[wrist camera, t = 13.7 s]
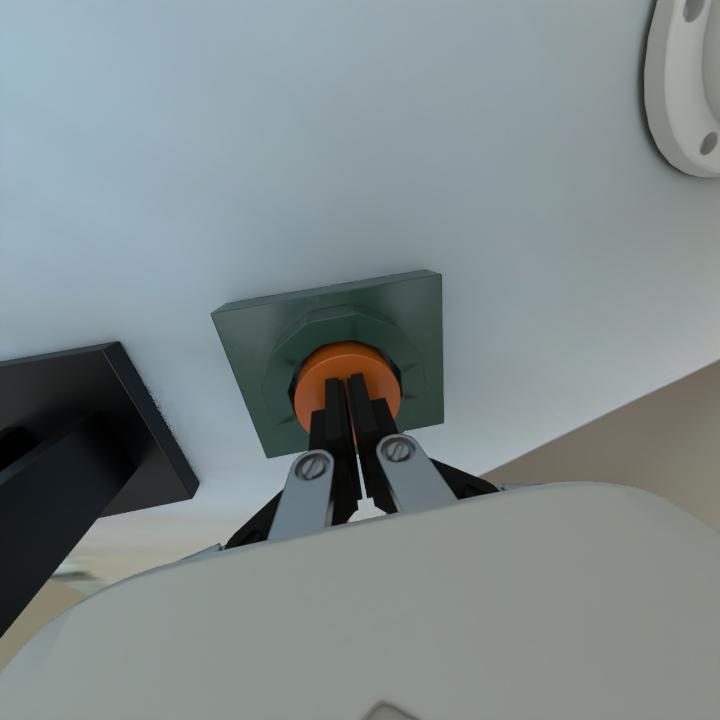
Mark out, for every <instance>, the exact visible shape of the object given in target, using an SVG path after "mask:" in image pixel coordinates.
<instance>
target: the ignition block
mask: <svg viewBox="0 0 720 720" xmlns="http://www.w3.org/2000/svg"><path fill="white" fill-rule="evenodd" d="M211 317H212V319H213V322H214V324H215V327H216V329H217V332H218V334H219V337H220V340H221V342H222V345H223V347H224V350H225V352H226V355H227V358H228V360H229V363H230V365H231V368H232V370H233V373H234V375H235V378H236V381H237V383H238V386H239V388H240V391H241V393H242V396H243V398H244V401H245V404H246V406H247V409H248V411H249V414H250V416H251V419H252V421H253V424H254V427H255V429H256V432H257V434H258V437H259V439H260V442H261V444H262V447H263V450H264V452H265V455H266V457H267V459H268V458H273V457H278V456H283V455H288V454H293V453H298V452H303V451H308V449H309V436H310V434H309V433H308V432H307V431H306V430H305V429H304V427H303V426H302V425H301V423H300V421H299V420H298V418H297V415H296V412H295V405H294V399H295V392H296V387H297V381H298V376H299V373H300V370H301V368H302V366H303V364H304V363H305V361H306V360H307V359H308V358H309V356H311V355H312V354H313V353H314V352H315V351H317V350H318V349H320V348H321V347H323V346H325V345H328V344H331V343H336V342H341V341H355V342H360V343H364V344H366V345H369V346H371V347H372V348H374V349H376V350H377V351H378V352H379V353H380V354H381V355H382V356H383V357H384V358H385V359H386V361H387V362H388V364H389V366H390V368H391V370H392V372H393V374H394V376H395V378H396V380H397V382H398V385H399V388H400V394H401V400H400V406H399V410H398V412H397V415H396V417H395V418H394V421H395V424H396V427H397V429H398V432H399V434H401V433H403V432H404V431H407V430H412V429H417V428H422V427H427V426H432V425H437V424H442V423H444V396H443V333H442V275H441V274H439V273H436V272H433V271H429V270H426V269H425V270H419V271H413V272H408V273H402V274H396V275H390V276H384V277H378V278H372V279H366V280H361V281H355V282H349V283H343V284H337V285H331V286H325V287H319V288H313V289H308V290H302V291H296V292H290V293H284V294H278V295H272V296H266V297H261V298H255V299H249V300H243V301H237V302H231V303H226V304H225V305H223V306H221V307H220V308H218V309H217V310H215V311H214V312H212V313H211ZM355 450H356V454H358V448H357V444H355Z"/></svg>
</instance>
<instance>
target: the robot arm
mask: <svg viewBox="0 0 720 720" xmlns="http://www.w3.org/2000/svg"><path fill="white" fill-rule="evenodd" d="M644 103H645V108H646V113H647V118H648V124H649V128H650V131H651V133H652V135H653V138H654V140H655V142H656V144H657V147H658V149H659V150H660V152H661V153H662V154H663V155H664V156H665V158H666V159H667V160H668V161H669V163H670V164H671V165H673V166H675V167H676V168H678V169H679V170H681V171H682V172H684V173H686V174H689V175H693V176H697V177H701V178H713V177H720V0H657V4H656V8H655V12H654V16H653V20H652V24H651V28H650V32H649V36H648V43H647V51H646V59H645V67H644ZM346 380H347V387H348V393H349V400H350V406H351V413H352V419H353V426H354V432H355V438H356V443H357V448H358V454H359V459H360V464H361V469H362V474H363V479H364V484H365V489H366V494H367V498H371V497H373V500H374V505H375V507H378V508H379V509H381V510H383V511H384V512H386V515H383V516H378V517H374V518H369V519H364V520H360V521H355V522H349V518H350V517H351V516H352V515H353V513H354V512H355V511H357V510H358V503H357V500H361V499H362V491H361V484H360V478H359V471H358V464H357V457H356V450H355V443H354V436H353V430H352V425H351V420H350V415H349V410H348V405H347V400H346V395H345V389H344V384H343V380H338V378H337V377H336V378H330V379H325V409H321V410H316V411H312V412H311V423H310V436H309V449H308V452H305V453H303V454H302V455H300V456H299V457H298V458H297V459H296V460H295V461H294V462H293V464H292V466H291V468H290V471H289V474H288V477H287V480H286V483H285V486H284V489H283V490H281V491H280V492H279V493H278V494H277V495H276V496H275V497H274V498H273V499H272V500H271V501H270V502H268V503H267V504H266V505H265V506H264V507H263V508H262V509H261V510H260V511H259V512H258V513H256V514H255V515H254V516H253V517H252V518H251V519H250V520H249V521H248V522H247V523H246V524H245V525H243V526H242V527H241V528H240V529H239V530H238V531H237V532H236V533H235V534H234V535H233V536H232V537H231V538H230V540H229V541H228V543H227V544H226V545H224V546H221V544H220V543H218V544H216V545H214V546H211V547H209V548H207V549H204V550H202V551H200V552H197V553H195V554H193V555H190V556H188V557H186V558H183V559H181V560H179V561H176V562H173V563H169V564H166V565H162V566H158V567H155V568H152V569H149V570H146V571H144V572H141V573H138V574H135V575H132V576H130V577H128V578H125V579H123V580H121V581H118V582H116V583H114V584H112V585H109V586H107V587H105V588H103V589H101V590H100V591H98V592H96V593H94V594H92V595H90V596H89V597H87V598H85V599H83V600H81V601H79V602H78V603H76V604H75V605H73V606H72V607H70V608H69V609H67V610H65V611H64V612H63V613H61V614H60V615H58V616H57V617H56V618H54V619H53V620H51V621H50V622H49V623H48V624H47V625H45V626H44V627H43V628H42V629H40V630H39V631H38V632H37V633H36V634H35V635H34V636H33V637H32V638H31V639H30V640H29V641H28V642H27V643H26V644H25V645H24V646H23V647H22V648H21V649H20V650H19V651H18V652H17V653H16V654H15V655H14V656H13V657H12V659H11V660H10V661H9V662H8V663H7V664H6V666H4V668H3V669H2V670H1V671H0V720H720V531H718V530H717V529H715V528H714V527H712V526H711V525H709V524H708V523H706V522H705V521H703V520H702V519H700V518H699V517H697V516H695V515H694V514H692V513H691V512H689V511H687V510H686V509H684V508H682V507H680V506H679V505H677V504H675V503H673V502H671V501H669V500H667V499H665V498H663V497H661V496H659V495H656V494H653V493H651V492H648V491H645V490H641V489H637V488H633V487H628V486H623V485H616V484H609V483H600V482H559V483H550V484H502V487H495V486H494V485H493V484H491V483H489V482H487V481H485V480H483V479H480V478H478V477H475V476H473V475H471V474H468V473H466V472H463V471H461V470H458V469H456V468H453V467H451V466H449V465H446V464H444V463H441V462H439V461H436V460H434V459H431V458H429V457H428V456H427V455H426V453H425V452H424V450H423V449H422V447H421V446H420V445H419V443H418V442H417V441H416V440H415V439H414V438H413V437H411V436H409V435H405V434H399V432H398V429H397V427H396V424H395V421H394V419H393V416H392V413H391V411H390V408H389V406H388V403H387V400H386V398H385V397H384V398H379V399H374V400H370V398H369V395H368V391H367V387H366V384H365V380H364V377H363V373H357V374H352V375H351V378H348V379H346Z"/></svg>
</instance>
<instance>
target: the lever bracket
mask: <svg viewBox="0 0 720 720" xmlns="http://www.w3.org/2000/svg"><path fill="white" fill-rule="evenodd" d="M198 487H199V483H198V481H197V479H196V477H195V475H194V474H193V472H192V470H191V468H190V467H189V465H188V463H187V461H186V460H185V458H184V456H183V454H182V452H181V451H180V449H179V447H178V445H177V444H176V442H175V440H174V438H173V436H172V435H171V433H170V431H169V429H168V428H167V426H166V424H165V422H164V421H163V419H162V417H161V415H160V413H159V412H158V410H157V408H156V406H155V405H154V403H153V401H152V399H151V398H150V396H149V394H148V392H147V390H146V389H145V387H144V385H143V383H142V382H141V380H140V378H139V376H138V374H137V373H136V371H135V369H134V367H133V366H132V364H131V362H130V360H129V359H128V357H127V355H126V353H125V351H124V350H123V348H122V346H121V344H120V343H119V342H112V343H106V344H101V345H95V346H89V347H83V348H78V349H72V350H66V351H60V352H55V353H49V354H43V355H37V356H32V357H26V358H20V359H14V360H9V361H3V362H0V638H1V637H2V636H3V635H4V633H5V632H6V631H7V630H8V628H9V627H10V626H11V625H12V623H13V622H14V621H15V620H16V618H17V617H18V616H19V615H20V614H21V612H22V611H23V610H24V609H25V607H26V606H27V605H28V604H29V602H30V601H31V600H32V598H33V597H34V596H35V595H36V593H38V591H39V590H40V589H41V588H42V586H43V585H44V584H45V583H46V581H47V580H48V579H49V578H50V577H51V575H52V574H53V573H54V572H55V570H56V569H57V568H58V567H59V565H60V564H61V563H62V562H63V561H64V559H65V558H66V557H67V556H68V554H69V553H70V552H71V551H72V549H73V548H74V547H75V546H76V545H77V543H78V542H79V541H80V540H81V538H82V537H83V536H84V535H85V533H86V532H87V531H88V530H89V528H90V527H91V526H92V525H93V524H94V522H95V521H96V520H97V519H98V518H102V517H106V516H111V515H116V514H121V513H126V512H131V511H136V510H140V509H145V508H150V507H155V506H160V505H165V504H170V503H174V502H179V501H184V500H189V499H192V498H193V497H194V495H195V493H196V491H197V489H198Z"/></svg>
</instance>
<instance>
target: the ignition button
mask: <svg viewBox="0 0 720 720" xmlns="http://www.w3.org/2000/svg"><path fill="white" fill-rule="evenodd" d="M357 373H363V377H364V380H365V384H366V387H367V391H368V395H369V398H370V400H374V399H379V398H384V397H385V398H386V400H387V403H388V406H389V408H390V411H391V413H392V416H393V419H394V418H395V417H396V415H397V412H398V410H399V406H400V400H401V394H400V388H399V385H398V382H397V380H396V378H395V376H394V374H393V372H392V370H391V368H390V366H389V364H388V362H387V361H386V359H385V358H384V357H383V356H382V355H381V354H380V353H379V352H378V351H377V350H376V349H374V348H372V347H371V346H369V345H366V344H364V343H360V342H355V341H341V342H336V343H331V344H328V345H325V346H323V347H321V348H320V349H318V350H317V351H315V352H314V353H313V354H312V355H311V356H309V358H308V359H307V360H306V361H305V363H304V364H303V366H302V368H301V370H300V373H299V376H298V381H297V387H296V392H295V399H294V405H295V412H296V415H297V418H298V420H299V421H300V423H301V425H302V426H303V427H304V429H305V430H306V431H307V432H308V433H309V434H310V423H311V412H312V411H316V410H321V409H325V379H330V378H336V377H337V378H338V380H343V384H344V389H345V395H346V400H347V405H348V410H349V415H350V420H351V425H352V430H353V436H354V443H355V444H357V443H356V438H355V432H354V426H353V419H352V413H351V406H350V400H349V393H348V387H347V380H346V379H348V378H351V375H352V374H357Z"/></svg>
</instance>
